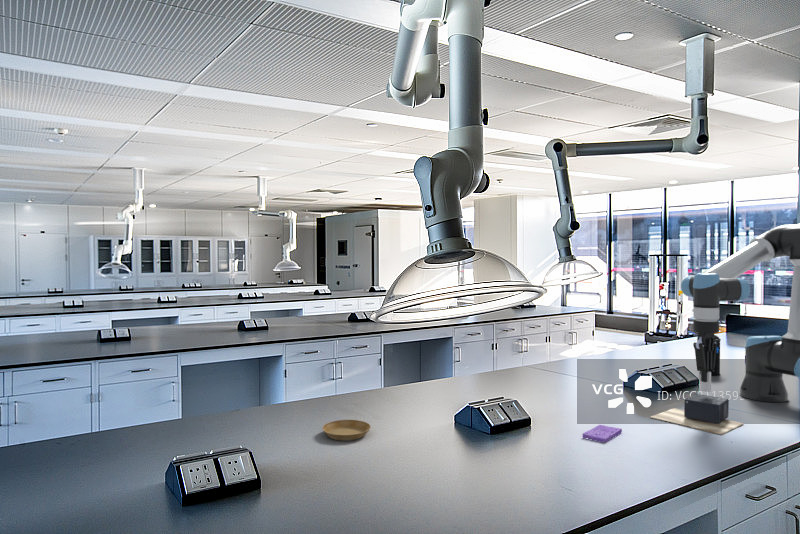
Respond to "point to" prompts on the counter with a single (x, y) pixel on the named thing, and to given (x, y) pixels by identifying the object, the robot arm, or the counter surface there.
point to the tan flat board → (696, 422)
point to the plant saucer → (346, 429)
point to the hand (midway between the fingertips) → (705, 391)
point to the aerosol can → (717, 361)
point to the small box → (706, 408)
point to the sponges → (602, 433)
